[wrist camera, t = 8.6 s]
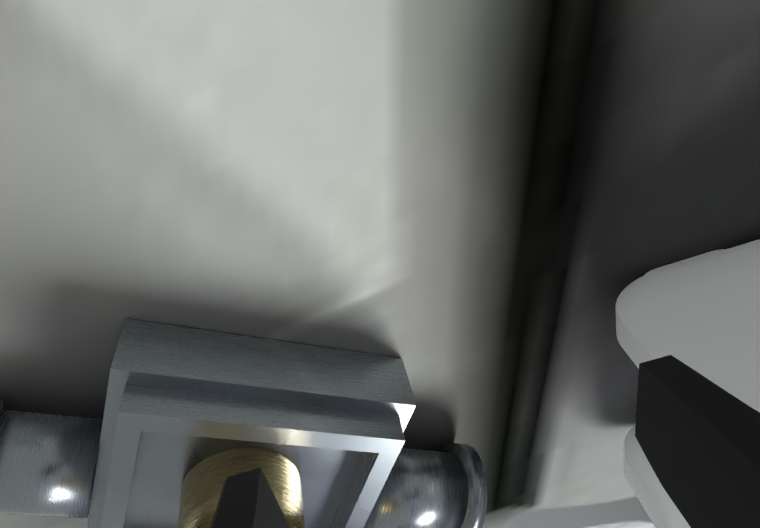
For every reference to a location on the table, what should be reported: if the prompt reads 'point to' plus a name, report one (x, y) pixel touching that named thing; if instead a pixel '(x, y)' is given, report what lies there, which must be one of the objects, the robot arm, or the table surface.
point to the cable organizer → (692, 341)
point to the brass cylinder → (213, 471)
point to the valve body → (238, 436)
